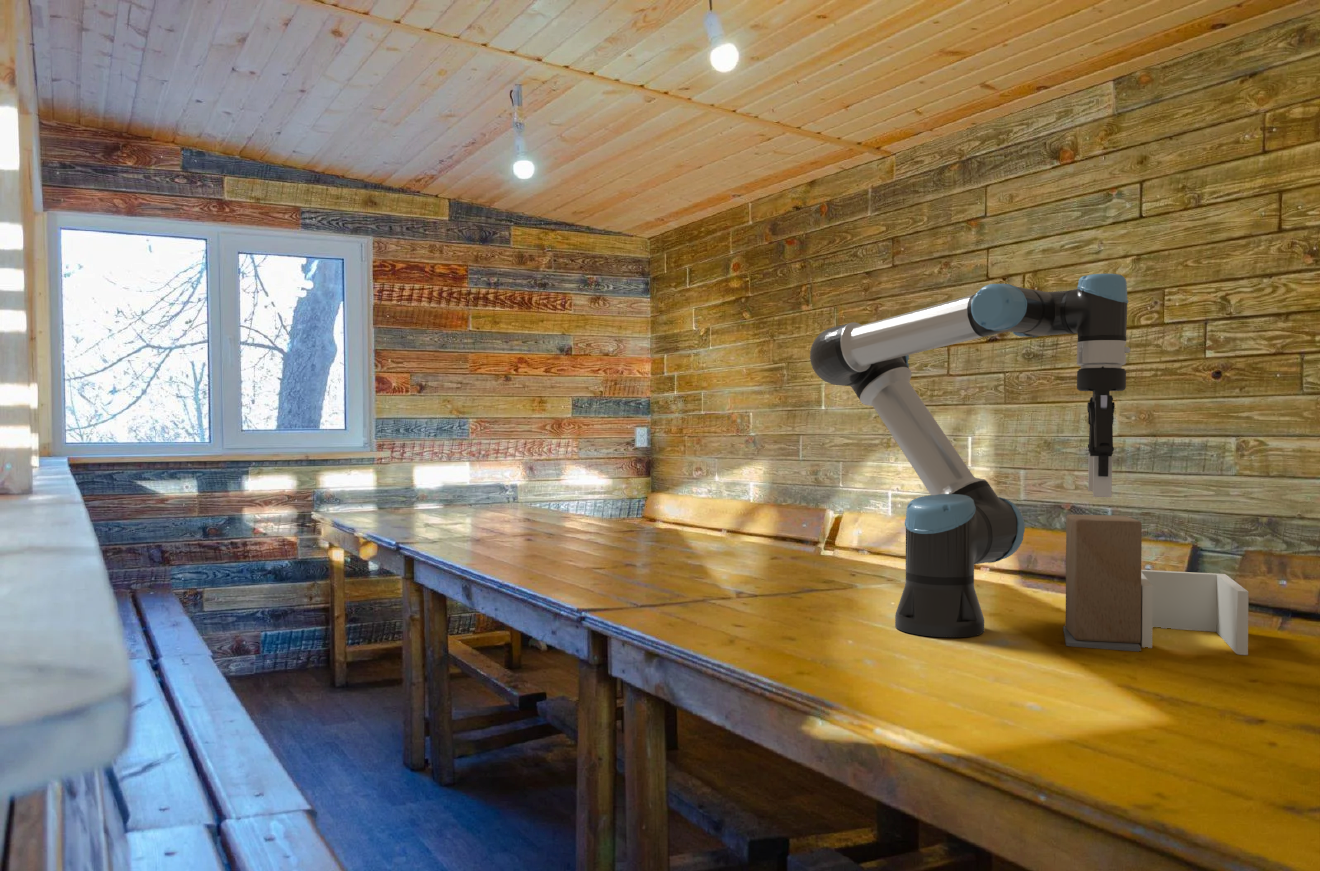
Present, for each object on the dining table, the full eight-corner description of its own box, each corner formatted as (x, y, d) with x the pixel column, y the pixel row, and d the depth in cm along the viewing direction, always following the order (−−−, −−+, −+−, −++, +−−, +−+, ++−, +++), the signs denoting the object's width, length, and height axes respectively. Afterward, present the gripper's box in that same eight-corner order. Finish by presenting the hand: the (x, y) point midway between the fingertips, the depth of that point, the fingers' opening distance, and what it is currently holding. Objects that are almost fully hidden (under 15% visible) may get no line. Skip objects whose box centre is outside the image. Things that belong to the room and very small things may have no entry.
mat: (1066, 645, 160) (1066, 642, 160) (1063, 629, 173) (1063, 625, 173) (1140, 651, 156) (1140, 647, 156) (1132, 634, 169) (1132, 630, 169)
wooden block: (1141, 644, 158) (1142, 521, 158) (1075, 641, 161) (1076, 519, 161) (1127, 631, 168) (1128, 515, 168) (1064, 628, 170) (1065, 514, 170)
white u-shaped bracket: (1141, 647, 159) (1142, 585, 159) (1130, 624, 177) (1130, 569, 177) (1247, 655, 154) (1248, 591, 154) (1224, 630, 172) (1225, 574, 172)
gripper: (1133, 363, 151) (1131, 500, 151) (1119, 370, 174) (1117, 489, 175) (1080, 363, 154) (1078, 498, 154) (1073, 371, 177) (1072, 488, 177)
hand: (1099, 494), depth 164 cm, fingers open, 13 cm apart
